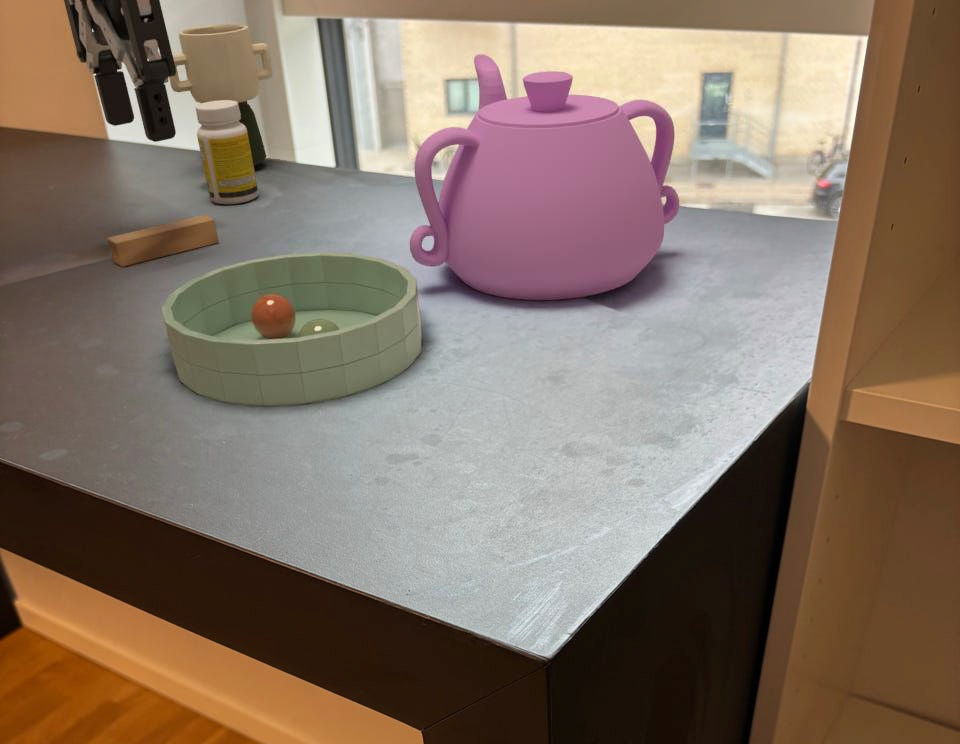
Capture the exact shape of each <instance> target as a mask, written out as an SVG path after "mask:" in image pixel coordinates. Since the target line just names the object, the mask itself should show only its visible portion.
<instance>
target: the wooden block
mask: <svg viewBox="0 0 960 744" xmlns="http://www.w3.org/2000/svg"><path fill="white" fill-rule="evenodd" d="M216 227H217V226H216V222H215V219H214V218H212V217H210V216H208V215H206V214H201V215H198V216H194V217H189V218H185V219H181V220H177V221H173V222H168V223H163V224H160V225H155V226H151V227H147V228H143V229H139V230H135V231H132V232H130V231H129V232H127V233H122V234H118V235H114V236H110V237H107V239H106V240H107V244H108V248H109V251H110V254H111V255H110V256H111V259H112V262H113V263H115V264H117V265H118V266H119V267H122V268H123V267H129V266H132V265H135V264H140V263H144V262H148V261H152V260H156V259H159V258H163V257H168V256H171V255H175V254H179V253H183V252H187V251H191V250H195V249H199V248H203V247H206V246H211V245H216V244H218V243H219V242H220V241H219V236H218V231H217V228H216Z"/></svg>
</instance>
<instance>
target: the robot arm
mask: <svg viewBox="0 0 960 744" xmlns="http://www.w3.org/2000/svg"><path fill="white" fill-rule="evenodd" d="M63 2H64V3H63V4H64V6H65V12H66V15H67V19H68V23H69V26H70V29H71V30H70V31H71V34H72V39H73V42H74V47H75V50H76V56H77V58H78V59H79V61H80V63H82V64H84V63H86V67H87V68H88V71H89V73H90V74H91V75H93V77H94V81H95V84H96V88H97V91H98V95H99V96H98V97H99V99H100V103H101V106H102V111H103V114H104V118H105V121H106V123H107V124H108V125H111V126H113V127H116V126H121V125H126V124H131V123H132V122H134V119H135V114H134V110H133V105H132V101H131V98H130V93H129V89H128V86H127V82H126V78H125V73H124V71H122V68H123V64H124V66H125V69H126V70H127V72H128V75H129V77H130V79H131V81H132V83H133V86H134V88H133V89H134V94H135V97H136V101H137V106H138V109H139V114H140V117H141V122H142V125H143V130H144V134H145V137H146V139H148V140H149V141H151V142H153V143H154V142H155V143H157V142H161V141H167V140H171V139H174V138H175V137H176V133H177V131H176V127H175V122H174V117H173V113H172V109H171V105H170V100H169V96H168V92H167V91H168V90H167V86H166V84H167V83H168V82H169V77H171V76H175V75H176V67H175V63H174V59H173V55H174V54H173V51H172V47H171V42H170V38H169V34H168V31H167V30H168V29H167V26H166V22H165V17H164V14H163V13H164V12H163V9H162V5H161V0H63Z"/></svg>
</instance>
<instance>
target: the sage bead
mask: <svg viewBox="0 0 960 744" xmlns="http://www.w3.org/2000/svg"><path fill="white" fill-rule="evenodd" d="M337 330H340V329H339V327H338V326H337V325H335V324H334V323H333V322H331V321H329V320H325V319H315V320H312V321H310V322H308V323H307V324H305V325H304V326H303V327H302V329H301V331H300V333H299V335H298V337H304V336H310V335H315V334H321V333H327V332H332V331H337Z"/></svg>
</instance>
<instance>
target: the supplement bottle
mask: <svg viewBox="0 0 960 744" xmlns="http://www.w3.org/2000/svg"><path fill="white" fill-rule="evenodd" d="M195 112H196V113H195V114H196V118H197V122H198V124H199V125H200V127H199V128H198V129H197V132H196V138H197V143H198V148H199V151H200V157H201V162H202V166H203V172H204V176H205V180H206V181H205V182H206V185H207V189H208V195H209V199H210V201H211V202H212V203H214V204H219V205H237V204H243V203H247V202H250V201H252V200H254V199H256V198H258V195H259V190H258V184H257V178H256V172H255V171H256V170H255V165H254V166H253V160H252V154H251V149H250V144H249V138H248V133H247V129H246V127H245V125H243V124H242V123H240V122H239V120H240V119H241V117H240V116H241V113H240V110H239V105H238V102H237V101H232V100H219V101H211V102H206V103H199V104H197V105H196V106H195Z"/></svg>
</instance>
